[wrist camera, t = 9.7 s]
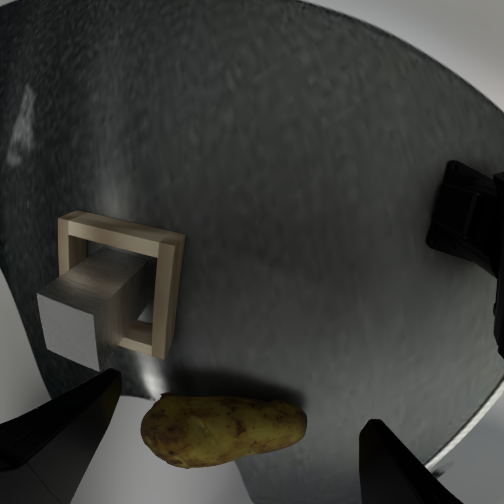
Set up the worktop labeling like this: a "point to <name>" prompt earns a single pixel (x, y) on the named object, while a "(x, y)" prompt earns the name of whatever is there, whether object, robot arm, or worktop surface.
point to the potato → (219, 428)
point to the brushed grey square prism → (94, 306)
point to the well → (140, 241)
